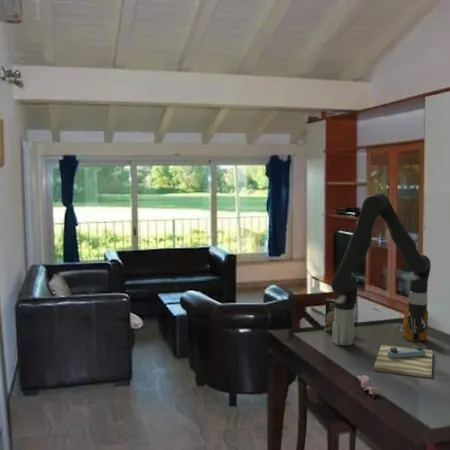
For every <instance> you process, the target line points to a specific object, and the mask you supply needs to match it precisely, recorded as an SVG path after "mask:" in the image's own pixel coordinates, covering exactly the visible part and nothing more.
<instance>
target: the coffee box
mask: <svg viewBox="0 0 450 450" xmlns="http://www.w3.org/2000/svg"><path fill="white" fill-rule="evenodd" d="M337 299H338V298H332V297H327V298H326V300H325V312H324V313H325V317H324V331H325V332H331V333H332V323H333V322H334V310H335V301H336V300H337Z"/></svg>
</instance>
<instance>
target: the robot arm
mask: <svg viewBox="0 0 450 450" xmlns="http://www.w3.org/2000/svg"><path fill="white" fill-rule="evenodd" d="M379 216H380V218H382V220H383V222H385V224H386V226H387V228H388V230H389V234H390V236H391V239H392V241H393V243H394V244H395V246H396V247H397V249H398V250H399V251H400V252H401V254H402V256H403V258H404V261H405V263H406V264H407V267H408V268H409V269H410V271H412V272H413V274H412V278H411V279H410V281H409V284H410V285H409V293H408V300H409V305H408V311H409V312H410V316H407V320H408V323H409V326H410V329H412V332H413V341H414V342H420V341H419V334H420V333H423V332H424V330H425V329H426V327H428V325H427V324H425V323H424V314H426V313H427V311H428V284H429V283H428V282H429V279H430V278H429V277H430V272H431V268H432V267H431V260H430V257H428V256H427V255H425V254H420V252H419V251H418V249H417V247H418V245H417V243H416V242H415V241H414V239H413V238H412V236H411V235H410V234H409V233H408V231H407V230H406V227H404V225H403V224H402V221H401V220H400V218H399V216H398V215H397V213H396V211H395V209H394V207H393V205H392V202H391V201H390V199H389V198H388V196H387V195H385V194H383V193H374V194H370V195H368V196H367V197H366V198H365V199H364V201H363V202H362V205H361V210H360V213H359V216H358V220H357V222H356V225H355V228H354V230H353V232H352V235H351V237H350V239H349V242H348V244H347V247H346V249H345V252H344V255H343V258H342V260H341V262H340V264H339V266H338V268H337V270H336V272H335V273H334V275H333V278H332V280H331V289H332V292H333V293H334V294H336V295H338V296H339V297H338V298H336V299H337V300H336V301H335V310H334V322H333V323H332V332H331V334H332V336H331V338H332V339H331V342H332V343H334V344H335V345H336V346H352V345H353V344H354V340H355V339H354V336H355V335H354V334H355V333H354V332H355V330H354V329H355V305H356V302H357V299H358V298H357V296H358V282H357V281H358V280H357V278H356V276H355V275H354V274H353V272H354V271H355V269H356V268H357V267H358V266H359V265H360V264H361V263H362V261H363V260H364V259H365V258H366V256H367V254H368V253H369V249H370V247H371V245H372V239H373V237H372V235H373V233H372V232H373V228H374V224H375V222H376V220H377V218H378V217H379Z"/></svg>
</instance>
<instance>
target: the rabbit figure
mask: <svg viewBox="0 0 450 450" xmlns="http://www.w3.org/2000/svg"><path fill="white" fill-rule="evenodd" d="M357 378H358V381H359V382H360V387H361V388H362V389H363V388H365V389H363V391H364V392H365V391H368V390H369V391H368V395H369V394H372V395H373V394H379V395H378V397H379V396H381V393H380V391H379V390H380V388H379V387H375V384H374V382H373V380H372V379H373V378H372V377H369V376H368V375H366V374H365V375H364V374H363V375H357ZM373 396H374V397H375V395H373ZM373 396H372V397H373Z"/></svg>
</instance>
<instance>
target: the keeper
mask: <svg viewBox="0 0 450 450" xmlns="http://www.w3.org/2000/svg"><path fill="white" fill-rule="evenodd" d="M410 345H411V348H412V349H416V348H417V349H423V350H425V349H427V345H425V344H423V343H422V342H420V341H418V342H415V341H414V342H412V341H410Z"/></svg>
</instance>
